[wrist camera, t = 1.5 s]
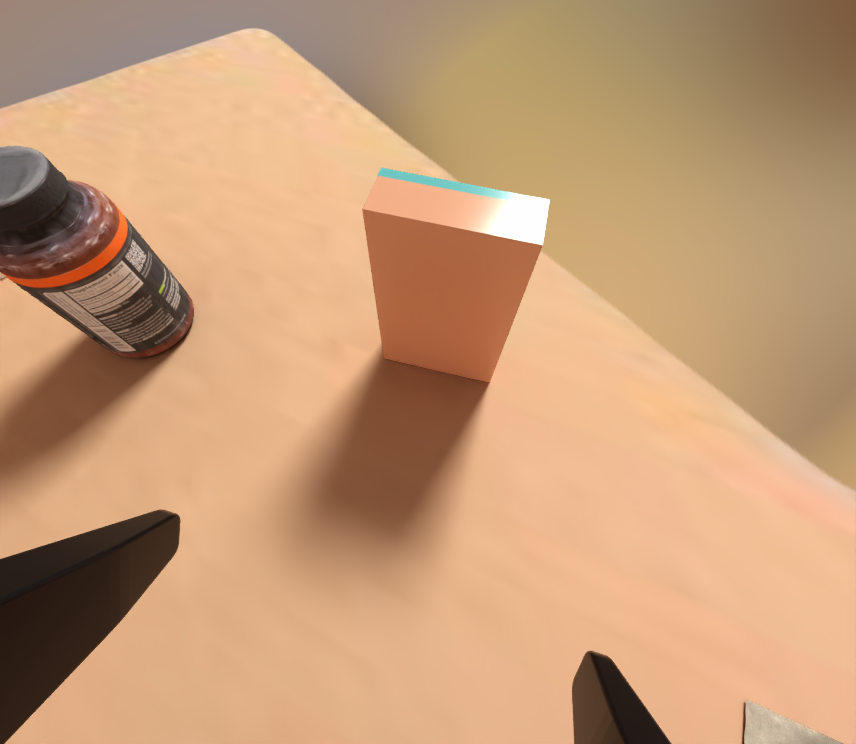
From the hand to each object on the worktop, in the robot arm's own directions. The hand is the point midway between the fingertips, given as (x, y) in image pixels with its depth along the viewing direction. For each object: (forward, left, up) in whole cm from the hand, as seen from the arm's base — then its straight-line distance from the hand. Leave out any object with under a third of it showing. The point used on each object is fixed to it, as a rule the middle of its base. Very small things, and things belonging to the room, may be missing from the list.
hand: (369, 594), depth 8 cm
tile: (+7, +12, -13) cm, 19 cm away
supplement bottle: (-11, +20, -14) cm, 27 cm away
